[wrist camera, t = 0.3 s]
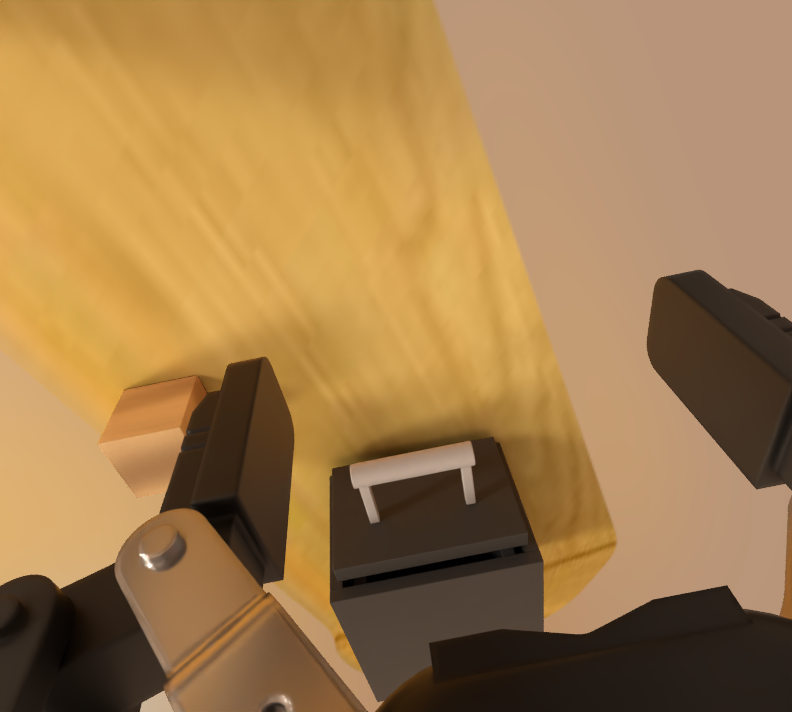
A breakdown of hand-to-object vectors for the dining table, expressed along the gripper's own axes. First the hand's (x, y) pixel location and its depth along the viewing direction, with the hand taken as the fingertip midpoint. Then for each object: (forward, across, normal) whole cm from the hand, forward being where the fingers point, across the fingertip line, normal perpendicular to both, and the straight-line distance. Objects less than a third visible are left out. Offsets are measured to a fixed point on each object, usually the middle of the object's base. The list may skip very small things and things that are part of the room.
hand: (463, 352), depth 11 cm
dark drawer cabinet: (+18, +2, +29) cm, 34 cm away
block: (+18, +16, +13) cm, 27 cm away
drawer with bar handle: (+17, +2, +24) cm, 30 cm away
